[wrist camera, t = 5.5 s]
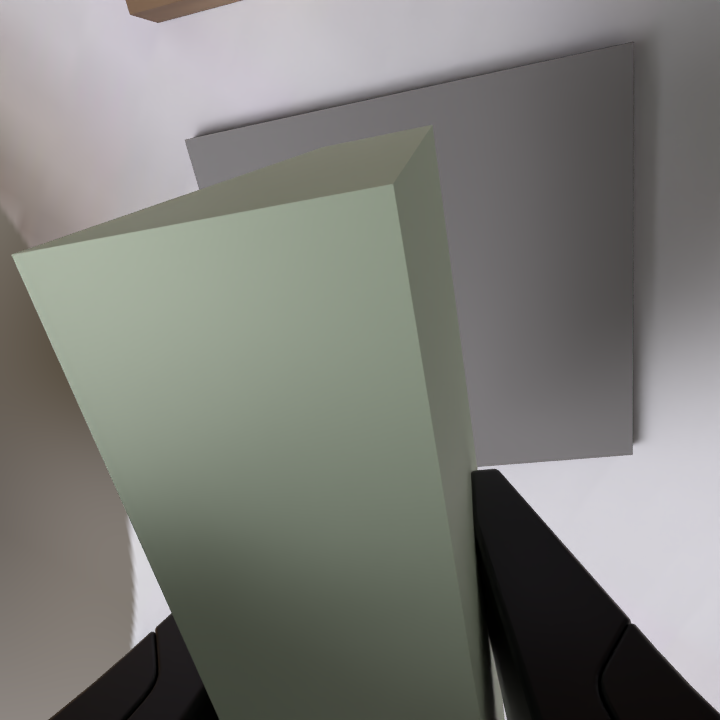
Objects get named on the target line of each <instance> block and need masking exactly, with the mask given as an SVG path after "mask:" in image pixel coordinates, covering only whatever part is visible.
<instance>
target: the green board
mask: <svg viewBox="0 0 720 720" xmlns="http://www.w3.org/2000/svg"><path fill="white" fill-rule="evenodd" d="M12 257H13V259H14V261H15V264H16V266H17V268H18V270H19V273H20V275H21V277H22V279H23V281H24V284H25V286H26V288H27V290H28V292H29V295H30V297H31V299H32V302H33V304H34V306H35V308H36V311H37V313H38V315H39V317H40V319H41V322H42V324H43V326H44V328H45V331H46V333H47V335H48V337H49V340H50V342H51V344H52V346H53V349H54V351H55V353H56V355H57V357H58V360H59V362H60V364H61V367H62V369H63V371H64V373H65V375H66V378H67V380H68V382H69V384H70V387H71V389H72V391H73V393H74V396H75V398H76V400H77V402H78V405H79V407H80V409H81V411H82V413H83V416H84V418H85V420H86V422H87V425H88V427H89V429H90V431H91V433H92V436H93V438H94V440H95V443H96V445H97V447H98V449H99V451H100V454H101V456H102V458H103V460H104V463H105V465H106V467H107V469H108V472H109V474H110V476H111V478H112V481H113V483H114V485H115V487H116V489H117V492H118V494H119V496H120V498H121V501H122V503H123V505H124V507H125V510H126V512H127V514H128V516H129V519H130V521H131V523H132V525H133V528H134V530H135V532H136V534H137V536H138V539H139V541H140V543H141V545H142V548H143V550H144V552H145V554H146V557H147V559H148V561H149V563H150V566H151V568H152V570H153V572H154V574H155V577H156V579H157V581H158V583H159V586H160V588H161V590H162V592H163V595H164V597H165V599H166V601H167V604H168V606H169V608H170V610H171V612H172V615H173V617H174V619H175V621H176V624H177V626H178V628H179V630H180V633H181V635H182V637H183V639H184V642H185V644H186V646H187V648H188V651H189V653H190V655H191V657H192V659H193V662H194V664H195V666H196V668H197V671H198V673H199V675H200V677H201V680H202V682H203V684H204V686H205V689H206V691H207V693H208V695H209V697H210V700H211V702H212V704H213V706H214V709H215V711H216V713H217V715H218V718H219V720H505V719H504V709H503V698H502V694H501V689H500V685H499V680H498V676H497V671H496V666H495V662H494V657H493V653H492V648H491V644H490V639H489V633H488V626H487V619H486V612H485V605H484V597H483V590H482V583H481V576H480V569H479V562H478V555H477V548H476V541H475V533H474V523H473V504H472V482H471V472H472V471H475V470H477V462H476V454H475V447H474V439H473V432H472V424H471V416H470V409H469V401H468V393H467V386H466V378H465V370H464V363H463V355H462V347H461V340H460V332H459V324H458V317H457V309H456V301H455V294H454V286H453V278H452V271H451V263H450V255H449V248H448V240H447V232H446V225H445V217H444V209H443V202H442V194H441V186H440V179H439V171H438V163H437V156H436V148H435V140H434V133H433V125H429V126H424V127H419V128H414V129H409V130H404V131H400V132H395V133H390V134H385V135H380V136H375V137H370V138H365V139H361V140H356V141H351V142H346V143H341V144H336V145H331V146H326V147H322V148H319V149H316V150H313V151H310V152H308V153H305V154H302V155H299V156H296V157H293V158H290V159H287V160H284V161H281V162H279V163H276V164H273V165H270V166H267V167H264V168H261V169H258V170H255V171H252V172H250V173H247V174H244V175H241V176H238V177H235V178H232V179H229V180H226V181H224V182H221V183H218V184H215V185H212V186H209V187H206V188H203V189H200V190H197V191H195V192H192V193H189V194H186V195H183V196H180V197H177V198H174V199H171V200H168V201H166V202H163V203H160V204H157V205H154V206H151V207H148V208H145V209H142V210H139V211H137V212H134V213H131V214H128V215H125V216H122V217H119V218H116V219H113V220H111V221H108V222H105V223H102V224H99V225H96V226H93V227H90V228H87V229H84V230H82V231H79V232H76V233H73V234H70V235H67V236H64V237H61V238H58V239H55V240H53V241H50V242H47V243H44V244H41V245H38V246H35V247H32V248H29V249H26V250H24V251H21V252H18V253H15V254H12Z"/></svg>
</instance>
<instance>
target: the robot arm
mask: <svg viewBox="0 0 720 720" xmlns="http://www.w3.org/2000/svg"><path fill="white" fill-rule="evenodd" d="M471 482H472V504H473V523H474V533H475V541H476V548H477V555H478V562H479V569H480V576H481V583H482V590H483V597H484V605H485V612H486V619H487V626H488V633H489V639H490V644H491V648H492V653H493V657H494V662H495V666H496V671H497V676H498V680H499V685H500V689H501V694H502V698H503V703H504V707H505V712H506V717H507V720H720V713H719V712H718V711H716V710H715V709H714V708H713V707H712V706H711V705H710V704H709V703H708V702H707V701H706V700H705V699H704V698H703V697H702V696H701V695H700V694H699V693H698V692H697V691H696V690H695V689H694V688H693V687H692V686H691V685H690V684H689V683H688V682H687V681H686V680H685V679H684V678H683V677H682V676H681V675H680V673H679V672H678V671H677V670H676V669H675V668H674V667H673V666H672V665H671V664H670V663H669V662H668V661H667V660H666V659H665V657H664V656H663V655H662V654H661V653H660V652H659V651H658V650H657V649H656V648H655V647H654V645H653V644H652V643H651V642H650V641H649V640H648V639H647V637H646V636H645V635H644V634H643V633H642V632H641V631H640V629H639V628H638V627H637V626H636V625H635V624H631V621H630V619H629V617H628V616H627V615H626V614H625V613H624V612H623V611H622V610H621V608H620V607H619V606H618V605H617V604H616V603H615V602H614V600H613V599H612V598H611V597H610V596H609V595H608V594H607V593H606V591H605V590H604V589H603V588H602V587H601V586H600V585H599V583H598V582H597V581H596V580H595V579H594V578H593V577H592V576H591V574H590V573H589V572H588V571H587V570H586V569H585V568H584V566H583V565H582V564H581V563H580V562H579V561H578V560H577V559H576V557H575V556H574V555H573V554H572V553H571V552H570V551H569V549H568V548H567V547H566V546H565V545H564V544H563V543H562V542H561V540H560V539H559V538H558V537H557V536H556V535H555V534H554V532H553V531H552V530H551V529H550V528H549V527H548V526H547V525H546V523H545V522H544V521H543V520H542V519H541V518H540V517H539V515H538V514H537V513H536V512H535V511H534V510H533V509H532V508H531V506H530V505H529V504H528V503H527V502H526V501H525V500H524V498H523V497H522V496H521V495H520V494H519V493H518V492H517V491H516V489H515V488H514V487H513V486H512V485H511V484H510V483H509V481H508V480H507V479H506V478H505V477H504V476H503V475H502V474H501V472H500V471H499V470H497V469H487V470H475V471H472V472H471ZM49 720H219V718H218V715H217V713H216V711H215V709H214V706H213V704H212V702H211V700H210V697H209V695H208V693H207V691H206V689H205V686H204V684H203V682H202V680H201V677H200V675H199V673H198V671H197V668H196V666H195V664H194V662H193V659H192V657H191V655H190V653H189V651H188V648H187V646H186V644H185V642H184V639H183V637H182V635H181V633H180V630H179V628H178V626H177V624H176V621H175V619H174V617H173V615H172V613H171V614H170V615H169V616H168V617H167V618H166V619H165V620H164V621H162V622H161V623H160V624H159V625H158V626H157V627H156V629H155V632H150V633H149V634H148V635H147V636H146V637H145V638H144V639H142V640H141V641H140V642H139V643H138V644H137V645H136V646H135V647H134V648H133V649H131V650H130V651H129V652H128V653H127V654H126V655H125V656H124V657H123V658H121V659H120V660H119V661H118V662H117V663H116V664H114V665H113V666H112V667H111V668H110V669H109V670H108V671H106V672H105V673H104V674H103V675H102V676H101V677H100V678H98V679H97V680H96V681H95V682H94V683H93V684H92V685H91V686H89V687H88V688H87V689H85V690H84V691H83V692H82V693H81V694H79V695H78V696H77V697H76V698H74V699H73V700H72V701H71V702H69V703H68V704H67V705H66V706H65V707H63V708H62V709H61V710H60V711H59V712H57V713H56V714H55V715H54V716H52V717H51V718H50V719H49Z"/></svg>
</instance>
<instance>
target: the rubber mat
mask: <svg viewBox="0 0 720 720" xmlns="http://www.w3.org/2000/svg"><path fill="white" fill-rule="evenodd" d="M429 125H433V133H434V140H435V148H436V156H437V163H438V171H439V179H440V186H441V194H442V202H443V209H444V217H445V225H446V232H447V240H448V248H449V255H450V263H451V271H452V278H453V286H454V294H455V301H456V309H457V317H458V324H459V332H460V340H461V347H462V355H463V363H464V370H465V378H466V386H467V393H468V401H469V409H470V416H471V424H472V432H473V439H474V447H475V454H476V462H477V467H481V466H494V465H507V464H520V463H533V462H545V461H558V460H571V459H584V458H597V457H610V456H623V455H633V146H634V42H630V43H626V44H621V45H616V46H612V47H607V48H603V49H598V50H594V51H589V52H584V53H580V54H575V55H571V56H566V57H562V58H557V59H552V60H548V61H543V62H539V63H534V64H529V65H525V66H520V67H516V68H511V69H507V70H502V71H497V72H493V73H488V74H484V75H479V76H475V77H470V78H465V79H461V80H456V81H452V82H447V83H442V84H438V85H433V86H429V87H424V88H420V89H415V90H410V91H406V92H401V93H397V94H392V95H387V96H383V97H378V98H374V99H369V100H365V101H360V102H355V103H351V104H346V105H342V106H337V107H333V108H328V109H323V110H319V111H314V112H310V113H305V114H300V115H296V116H291V117H287V118H282V119H278V120H273V121H268V122H264V123H259V124H255V125H250V126H246V127H241V128H236V129H232V130H227V131H223V132H218V133H213V134H209V135H204V136H200V137H195V138H191V139H186V140H185V143H186V146H187V149H188V153H189V156H190V159H191V163H192V166H193V170H194V173H195V176H196V180H197V183H198V186H199V190H200V189H203V188H206V187H209V186H212V185H215V184H218V183H221V182H224V181H226V180H229V179H232V178H235V177H238V176H241V175H244V174H247V173H250V172H252V171H255V170H258V169H261V168H264V167H267V166H270V165H273V164H276V163H279V162H281V161H284V160H287V159H290V158H293V157H296V156H299V155H302V154H305V153H308V152H310V151H313V150H316V149H319V148H322V147H326V146H331V145H336V144H341V143H346V142H351V141H356V140H361V139H365V138H370V137H375V136H380V135H385V134H390V133H395V132H400V131H404V130H409V129H414V128H419V127H424V126H429Z"/></svg>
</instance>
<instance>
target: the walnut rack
mask: <svg viewBox="0 0 720 720" xmlns="http://www.w3.org/2000/svg"><path fill="white" fill-rule="evenodd" d="M238 1H241V0H126V3H127V6H128V10H129V13H130V15H133V16H136V17H140V18H143V19H147V20H150V21H153V22H157V23H159V22H163V21H167V20H171V19H174V18H178V17H182V16H185V15H189V14H193V13H197V12H200V11H204V10H208V9H212V8H215V7H219V6H223V5H226V4H230V3H234V2H238Z"/></svg>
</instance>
